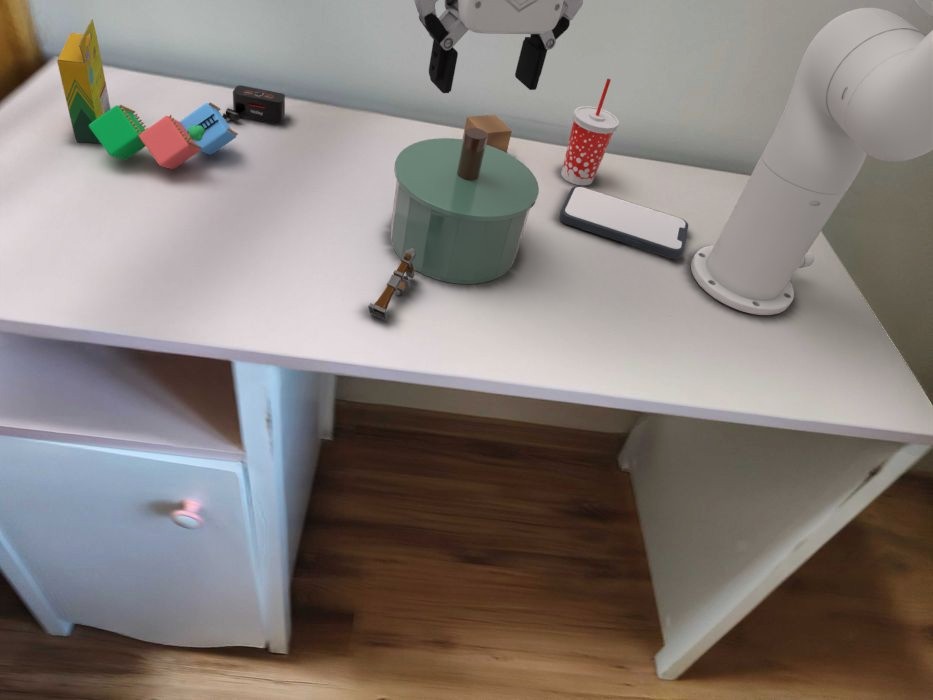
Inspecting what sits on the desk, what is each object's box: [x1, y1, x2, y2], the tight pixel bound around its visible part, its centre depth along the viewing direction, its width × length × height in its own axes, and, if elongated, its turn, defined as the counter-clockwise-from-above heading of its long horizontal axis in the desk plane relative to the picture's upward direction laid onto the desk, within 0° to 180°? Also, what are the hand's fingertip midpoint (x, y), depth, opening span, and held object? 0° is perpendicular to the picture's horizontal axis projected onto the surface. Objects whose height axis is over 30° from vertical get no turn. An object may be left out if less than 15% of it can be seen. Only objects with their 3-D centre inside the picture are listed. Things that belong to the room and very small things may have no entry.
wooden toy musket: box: [367, 248, 416, 322], centre depth 70 cm, size 2×8×4 cm, turn 157°
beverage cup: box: [560, 78, 620, 187], centre depth 92 cm, size 6×6×14 cm
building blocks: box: [89, 101, 239, 170], centre depth 80 cm, size 8×8×12 cm
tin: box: [389, 180, 531, 285], centre depth 77 cm, size 15×15×8 cm
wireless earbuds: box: [222, 84, 286, 125], centre depth 91 cm, size 5×7×3 cm, turn 87°
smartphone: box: [558, 185, 689, 260], centre depth 89 cm, size 9×2×16 cm
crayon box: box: [56, 19, 112, 144], centre depth 80 cm, size 7×3×12 cm, turn 10°
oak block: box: [462, 114, 513, 153], centre depth 95 cm, size 5×5×5 cm
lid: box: [394, 128, 540, 221], centre depth 73 cm, size 16×16×6 cm
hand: (483, 85), depth 67 cm, fingers open, 9 cm apart
